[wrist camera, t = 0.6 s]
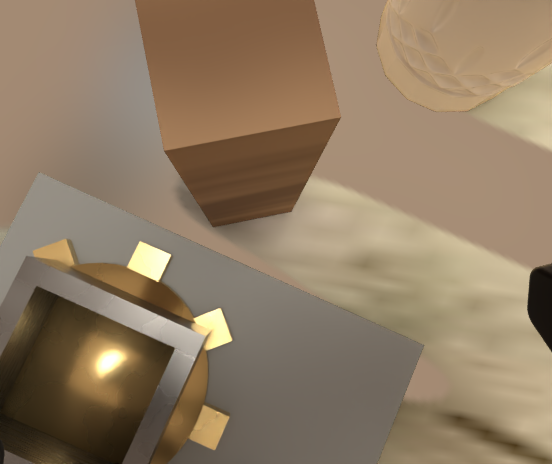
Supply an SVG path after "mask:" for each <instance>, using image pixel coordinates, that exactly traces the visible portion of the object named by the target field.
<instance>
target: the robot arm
mask: <svg viewBox="0 0 552 464" xmlns="http://www.w3.org/2000/svg"><path fill="white" fill-rule="evenodd" d="M527 310H528V315H529V318H530V320H531V322H532V324H533V325H534V327H535V328H536V330H537V331H538V332H539V334H540V335H541V337H542V338H543V340H544V341H545V343H546V344H547V346H548V347H549V349H550V350H551V352H552V264H547V265H543V266H540V267H536V268H534V269H533V270H532V272H531V274H530V280H529V293H528V305H527ZM4 456H5V452H4V445H3V442H2V440H1V438H0V464H4Z"/></svg>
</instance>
